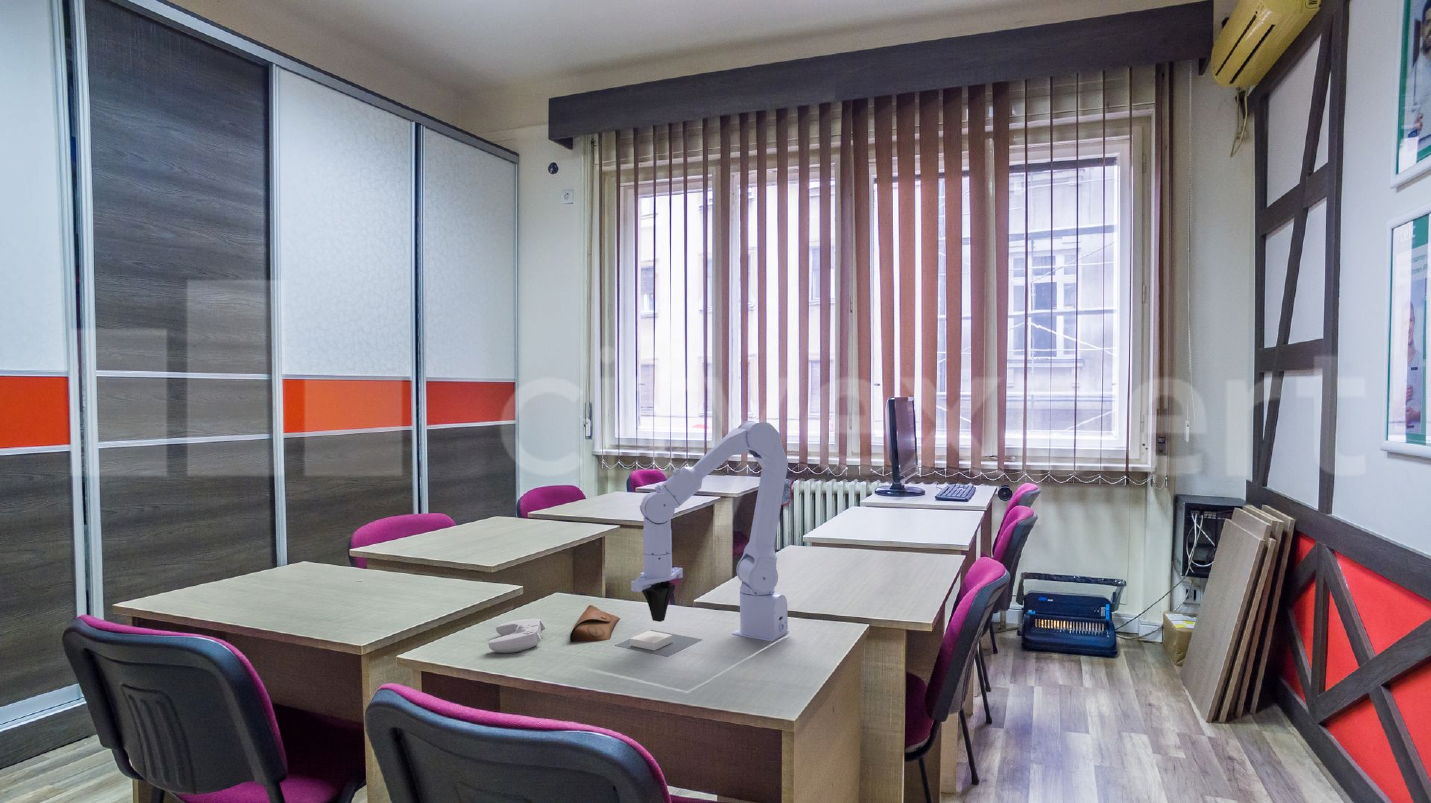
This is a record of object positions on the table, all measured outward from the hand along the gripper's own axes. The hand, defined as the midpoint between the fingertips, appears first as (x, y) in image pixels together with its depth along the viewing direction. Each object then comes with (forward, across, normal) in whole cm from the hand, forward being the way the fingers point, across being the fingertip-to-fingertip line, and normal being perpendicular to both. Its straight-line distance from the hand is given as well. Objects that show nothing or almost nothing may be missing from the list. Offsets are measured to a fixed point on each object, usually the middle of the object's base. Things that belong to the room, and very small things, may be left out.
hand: (658, 620), depth 154 cm
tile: (+3, -1, 0) cm, 3 cm away
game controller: (+5, +14, -25) cm, 29 cm away
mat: (+5, 0, 0) cm, 5 cm away
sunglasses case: (+5, 0, -17) cm, 18 cm away
